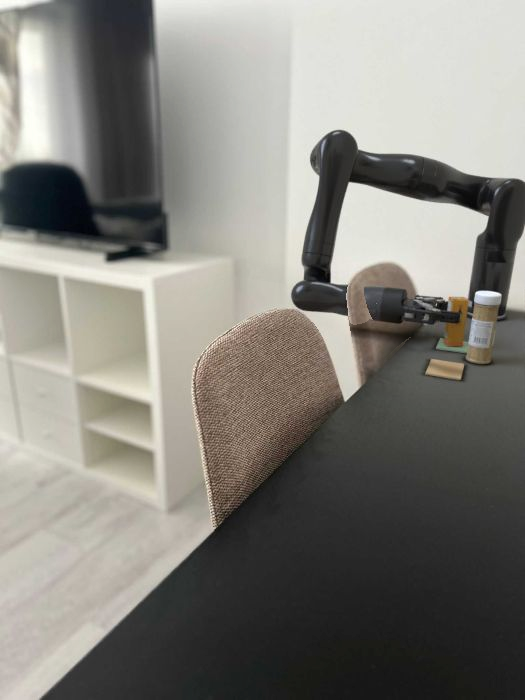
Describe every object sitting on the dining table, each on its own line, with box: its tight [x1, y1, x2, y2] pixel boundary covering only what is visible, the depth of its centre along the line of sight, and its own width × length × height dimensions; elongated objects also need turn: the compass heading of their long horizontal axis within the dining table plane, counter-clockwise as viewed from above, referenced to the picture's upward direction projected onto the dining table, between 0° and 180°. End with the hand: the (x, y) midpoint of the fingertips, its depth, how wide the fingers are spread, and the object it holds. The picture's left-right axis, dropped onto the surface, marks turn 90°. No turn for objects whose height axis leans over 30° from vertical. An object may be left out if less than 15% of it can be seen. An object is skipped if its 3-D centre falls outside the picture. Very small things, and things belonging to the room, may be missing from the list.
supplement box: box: [443, 296, 469, 347], centre depth 105 cm, size 3×3×10 cm
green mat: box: [435, 337, 469, 354], centre depth 107 cm, size 7×6×1 cm
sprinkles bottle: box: [465, 291, 502, 365], centre depth 97 cm, size 5×5×13 cm
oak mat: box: [424, 358, 465, 381], centre depth 94 cm, size 8×6×1 cm
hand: (461, 313), depth 104 cm, fingers open, 8 cm apart
